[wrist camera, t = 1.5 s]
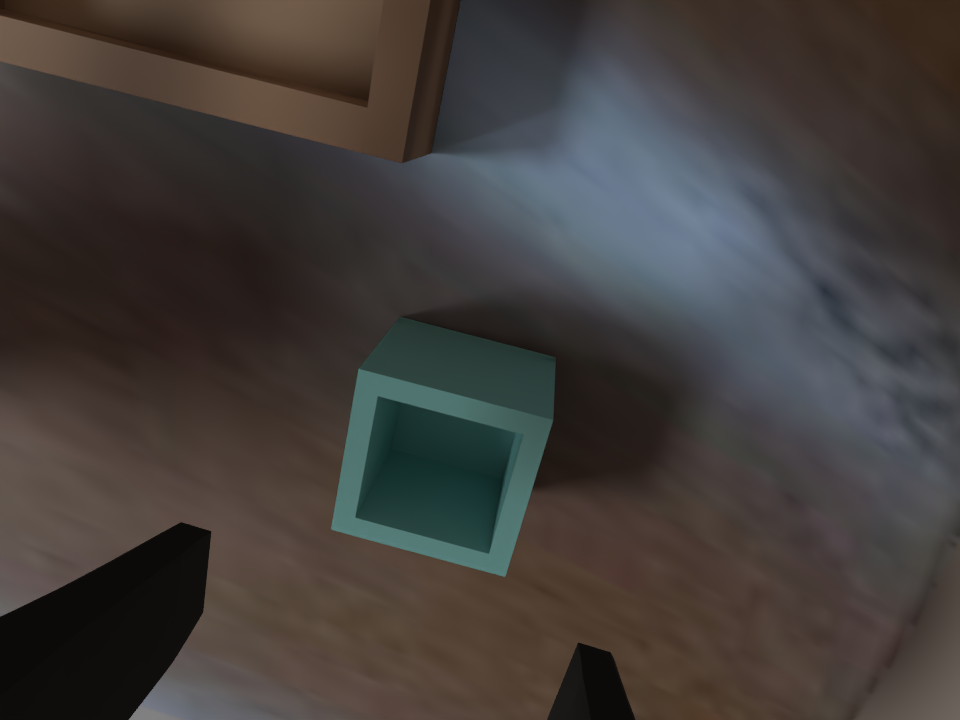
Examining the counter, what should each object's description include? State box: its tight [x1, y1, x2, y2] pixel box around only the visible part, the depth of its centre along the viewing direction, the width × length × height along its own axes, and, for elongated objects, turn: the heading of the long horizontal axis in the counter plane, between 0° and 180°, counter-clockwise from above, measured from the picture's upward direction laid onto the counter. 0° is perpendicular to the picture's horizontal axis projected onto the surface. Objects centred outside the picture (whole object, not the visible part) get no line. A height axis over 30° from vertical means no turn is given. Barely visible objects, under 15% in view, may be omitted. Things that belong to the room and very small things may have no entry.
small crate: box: [331, 317, 556, 577], centre depth 19 cm, size 5×5×4 cm
